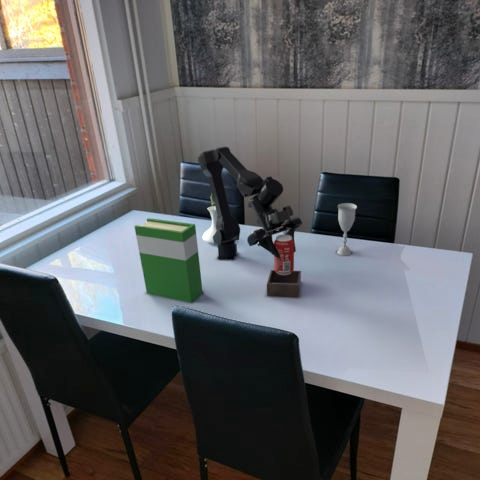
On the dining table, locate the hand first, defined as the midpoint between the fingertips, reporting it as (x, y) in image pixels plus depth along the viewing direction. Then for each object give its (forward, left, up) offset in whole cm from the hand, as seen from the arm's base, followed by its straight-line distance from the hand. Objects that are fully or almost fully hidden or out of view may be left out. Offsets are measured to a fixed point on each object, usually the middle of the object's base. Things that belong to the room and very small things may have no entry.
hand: (286, 254), depth 148 cm
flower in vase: (-33, +41, -13) cm, 55 cm away
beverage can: (-1, +1, -7) cm, 7 cm away
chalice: (+19, +31, -13) cm, 39 cm away
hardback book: (-37, -5, -13) cm, 40 cm away
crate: (-1, +1, -13) cm, 13 cm away
